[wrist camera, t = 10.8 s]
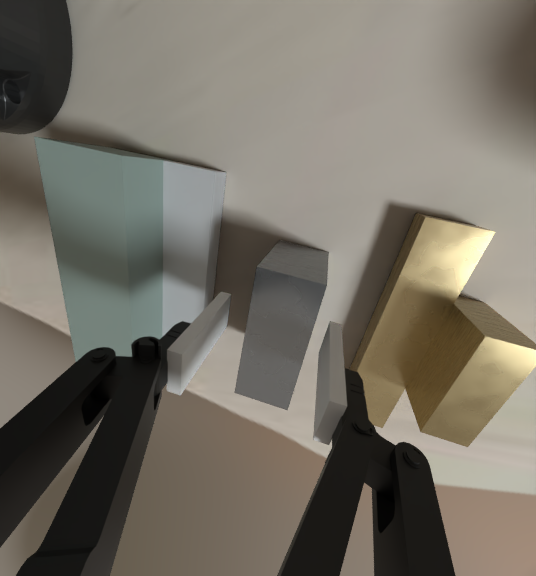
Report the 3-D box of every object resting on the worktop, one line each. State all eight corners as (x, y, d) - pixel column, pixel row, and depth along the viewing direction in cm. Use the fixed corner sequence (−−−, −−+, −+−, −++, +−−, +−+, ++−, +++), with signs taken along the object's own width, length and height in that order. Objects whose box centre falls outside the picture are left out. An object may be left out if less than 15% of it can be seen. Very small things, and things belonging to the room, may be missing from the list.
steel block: (259, 338, 25) (234, 392, 19) (279, 239, 21) (256, 266, 14) (299, 350, 24) (287, 410, 18) (328, 251, 20) (326, 285, 14)
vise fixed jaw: (124, 328, 28) (75, 363, 23) (111, 147, 21) (34, 136, 15) (207, 354, 27) (176, 398, 22) (226, 172, 19) (185, 169, 14)
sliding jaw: (337, 396, 25) (339, 455, 20) (416, 213, 17) (453, 227, 12) (410, 420, 24) (432, 488, 19) (527, 236, 17) (620, 264, 11)
